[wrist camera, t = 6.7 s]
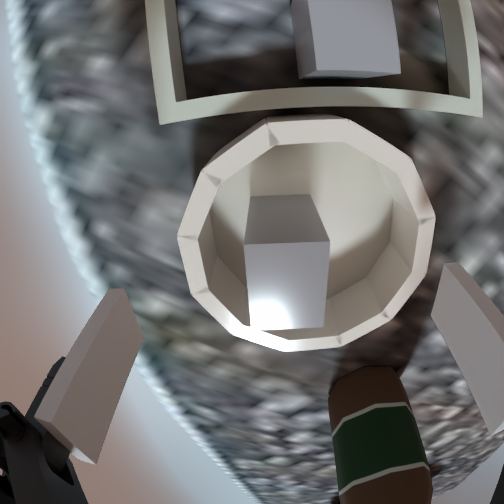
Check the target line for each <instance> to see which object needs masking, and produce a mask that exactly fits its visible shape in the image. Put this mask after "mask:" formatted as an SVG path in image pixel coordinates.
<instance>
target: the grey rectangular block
mask: <svg viewBox="0 0 504 504" xmlns="http://www.w3.org/2000/svg"><path fill="white" fill-rule="evenodd" d="M329 254H330V240H329V237H328V235H327V232H326V230H325V228H324V225H323V223H322V221H321V218H320V216H319V214H318V211H317V209H316V207H315V204H314V202H313V200H312V198H311V195H310V194H301V195H272V196H251V197H250V201H249V209H248V216H247V223H246V231H245V238H244V255H245V267H246V278H247V289H248V300H249V311H250V322H251V330H277V329H300V328H318V327H323V325H324V316H325V305H326V294H327V282H328V269H329Z"/></svg>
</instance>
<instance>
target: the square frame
mask: <svg viewBox="0 0 504 504" xmlns="http://www.w3.org/2000/svg"><path fill="white" fill-rule="evenodd" d="M437 1H438V6H439V11H440V16H441V22H442V28H443V35H444V42H445V50H446V59H447V70H448V84H449V95H444V94H437V93H430V92H422V91H412V90H402V89H389V88H371V87H299V88H282V89H268V90H257V91H247V92H238V93H230V94H223V95H216V96H209V97H203V98H197V99H191V100H187V95H186V88H185V81H184V73H183V65H182V57H181V49H180V40H179V31H178V22H177V13H176V3H175V0H145V9H146V20H147V31H148V41H149V50H150V58H151V67H152V74H153V82H154V89H155V96H156V103H157V110H158V116H159V123H160V125H162V124H167V123H173V122H178V121H184V120H189V119H195V118H202V117H208V116H215V115H222V114H230V113H238V112H247V111H257V110H268V109H281V108H297V107H322V106H369V107H393V108H409V109H421V110H431V111H440V112H449V113H456V114H463V115H470V116H476V117H482V118H483V107H482V81H481V68H480V58H479V49H478V41H477V35H476V28H475V23H474V17H473V12H472V7H471V3H470V0H437Z"/></svg>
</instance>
